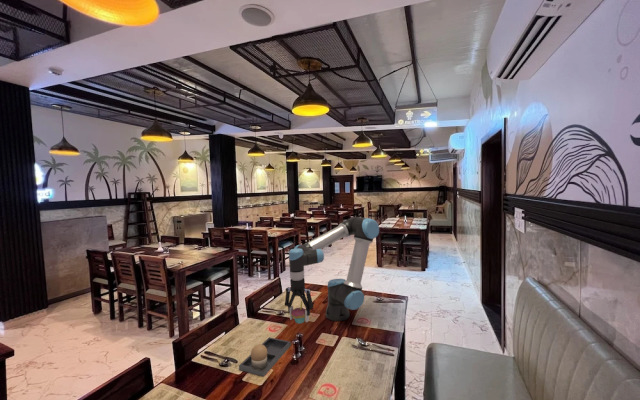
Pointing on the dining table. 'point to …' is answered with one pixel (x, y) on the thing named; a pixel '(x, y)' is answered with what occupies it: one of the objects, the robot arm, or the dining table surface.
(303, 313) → the cupcake
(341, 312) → the robot arm
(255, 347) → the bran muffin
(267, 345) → the dark grey tray
